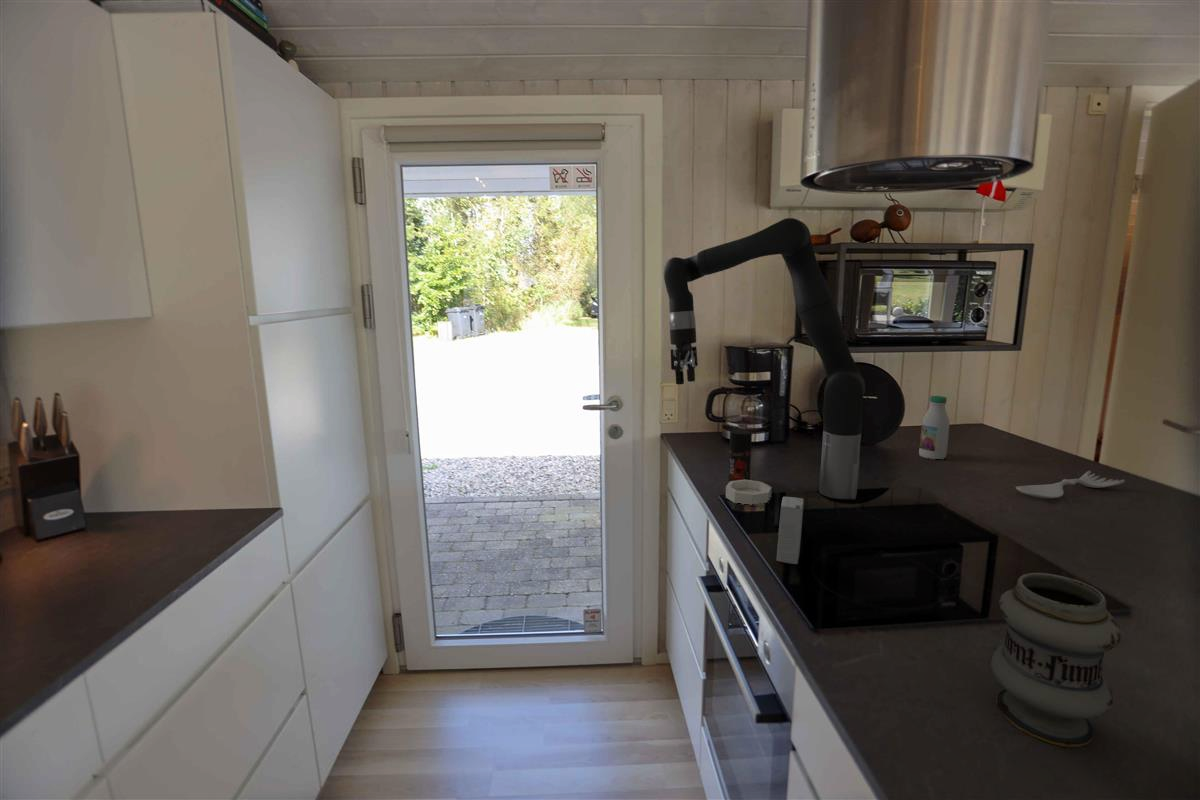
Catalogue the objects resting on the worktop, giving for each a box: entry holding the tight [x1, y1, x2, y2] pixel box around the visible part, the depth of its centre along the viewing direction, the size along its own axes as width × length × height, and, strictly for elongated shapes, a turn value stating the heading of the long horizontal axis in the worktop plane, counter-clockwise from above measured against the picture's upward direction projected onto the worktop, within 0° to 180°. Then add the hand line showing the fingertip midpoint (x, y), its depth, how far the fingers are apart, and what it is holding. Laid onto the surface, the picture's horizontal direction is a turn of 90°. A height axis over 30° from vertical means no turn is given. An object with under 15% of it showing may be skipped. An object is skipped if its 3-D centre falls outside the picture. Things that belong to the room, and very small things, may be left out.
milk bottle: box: [918, 395, 950, 460], centre depth 183 cm, size 8×8×20 cm
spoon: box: [1015, 470, 1125, 500], centre depth 152 cm, size 9×32×4 cm, turn 108°
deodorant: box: [727, 428, 753, 483], centre depth 161 cm, size 6×6×15 cm
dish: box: [725, 479, 772, 506], centre depth 150 cm, size 11×11×3 cm
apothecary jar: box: [990, 572, 1122, 748], centre depth 71 cm, size 12×12×18 cm
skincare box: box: [775, 496, 805, 565], centre depth 115 cm, size 6×4×12 cm
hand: (685, 382), depth 167 cm, fingers open, 8 cm apart
